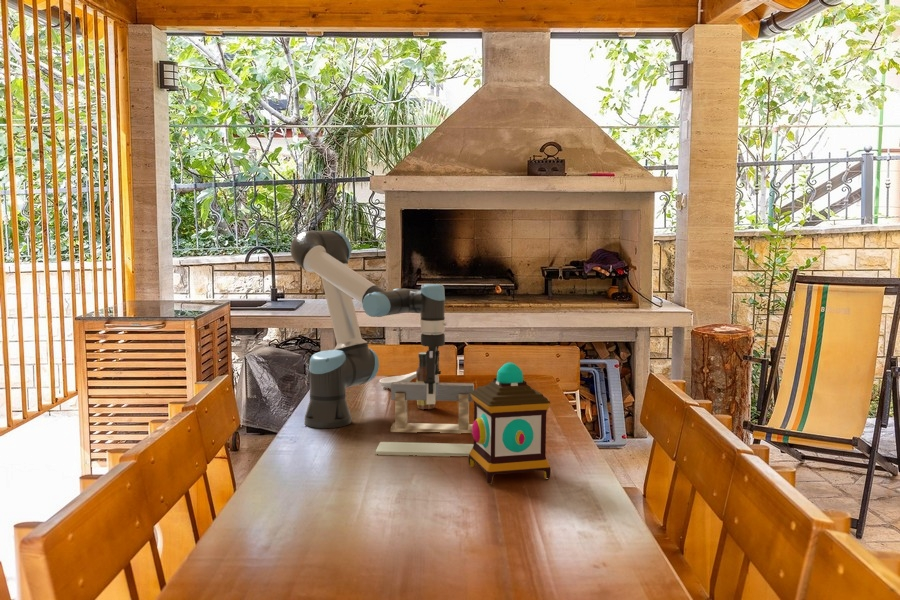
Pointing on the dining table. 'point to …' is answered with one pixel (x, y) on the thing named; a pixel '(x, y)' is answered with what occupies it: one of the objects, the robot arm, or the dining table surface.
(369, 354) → the robot arm
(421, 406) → the sauce bottle
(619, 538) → the dining table surface
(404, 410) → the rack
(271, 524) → the dining table surface
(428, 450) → the mat
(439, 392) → the rail
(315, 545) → the dining table surface
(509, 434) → the decorative lantern
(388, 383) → the spoon rest
